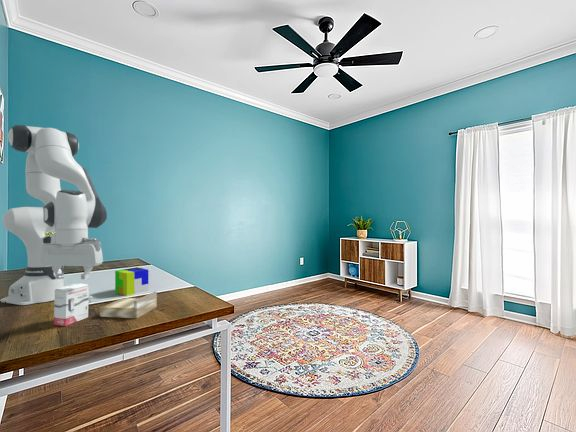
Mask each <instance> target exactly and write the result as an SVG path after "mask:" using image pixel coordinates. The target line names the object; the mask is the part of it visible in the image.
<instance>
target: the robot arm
mask: <svg viewBox="0 0 576 432" xmlns="http://www.w3.org/2000/svg"><path fill="white" fill-rule="evenodd" d="M7 140H8V142H9V144H10V147H11V148H13V150H15V151H18V152H21V153H27V156H26V160H25V161H26V162H25V173H24V174H25V190H26V193H27V194H28V195H29V196H31V197H33V198H34V199H37V200H39V201H41V202H42V203H43V205H44V206H21V207H20V206H19V207H12V208H9V209H7V210H6V211H5V213H4V214H3V216H2V218H1V219H2V224H3V228H5V230H6V231H8V232H10V233H12V234H13V235H15V236H16V237H18V238H19V240H21V241H22V242H23V244H24V246H25V248H26V249H25V250H26V254H27V266H26V267H24V268H22V269H21V272H23V276H21V278H19V279H18V280H16V281H15V282H13V283H12V284H10V286H9V288H8V295H7V296H5V297H2V298H1V299H0V301H1V302H0V303H5V302H6V303H5V304H13V305H18V306H27V305H32V304H38V303H39V304H40V303H47V302H52V301H54V297H55V290H56V289H57V288H61V287H65V279H64V278H65V273H64V267H83V270H84V272H83V273H82V274H80V279H81V280H84V281H85V280H88V279H90V273H91V272H92V270H93V267H97V266H101V265H102V263H103V262H104V258H103V250H102V243H101V241H100V240H99V239H98V238H96V237H92V238H91V237H89V229H98V228H99V227H101V226H102V225H103V224H104V223H105V222H106V220H107V219H108V218H107V217H108V214H107V210H106V207H105V206H104V204H103V202H102V201H101V199H100V197H99V195H98V193H97V190H96V189H95V186H94V184H93V181H92V179H91V177H90V175H89V173H88V171H87V169H86V168H84V167H83V166H81V165H80V164H79V163H78V162H77V161H76V159H75V158H74V156H75V155H77V154H78V152H79V149H80V143H79V139H78V137H77V136H76V135H75V134H74V133H71V132H68V131H62V130H59V129H58V128H54V127H41V126H32V125H31V126H30V125H26V124H25V125H24V124H15V125H12V126H11V127H10V129H9V131H8V134H7ZM61 181H63V182H64V181H65V182H67V183H70V184H72V185H74V186H75V187H77V188H78V190H73V189H71V190H70V189H62V187H61ZM47 233H51V234H48V235H46V234H47Z"/></svg>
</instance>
